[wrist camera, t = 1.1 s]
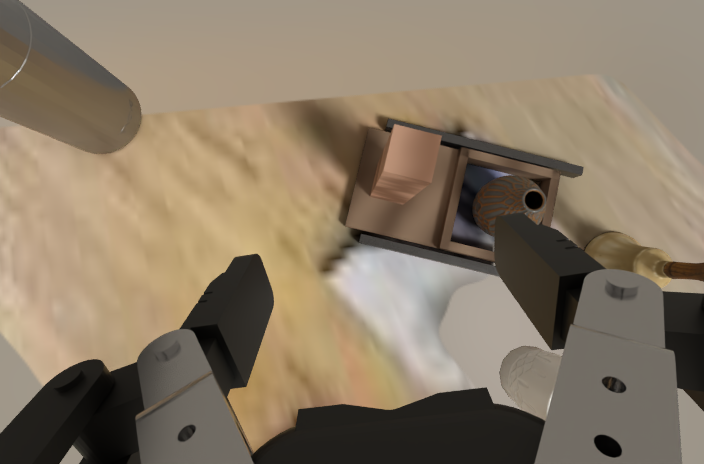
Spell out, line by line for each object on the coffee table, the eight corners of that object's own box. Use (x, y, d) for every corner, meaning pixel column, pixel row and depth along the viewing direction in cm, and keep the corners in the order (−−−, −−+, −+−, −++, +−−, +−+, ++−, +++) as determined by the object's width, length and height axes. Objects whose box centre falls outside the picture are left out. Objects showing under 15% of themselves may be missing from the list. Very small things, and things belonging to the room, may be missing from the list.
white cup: (560, 343, 40) (635, 373, 30) (557, 411, 39) (632, 465, 29) (495, 337, 39) (548, 366, 29) (492, 406, 39) (544, 458, 29)
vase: (463, 183, 41) (497, 164, 32) (518, 183, 41) (567, 164, 32) (465, 240, 40) (500, 236, 31) (521, 239, 40) (571, 235, 32)
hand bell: (646, 302, 40) (845, 334, 24) (579, 298, 40) (737, 328, 24) (646, 234, 41) (841, 222, 25) (580, 230, 41) (735, 215, 25)
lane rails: (358, 242, 40) (359, 242, 38) (386, 123, 41) (388, 118, 39) (551, 289, 40) (560, 290, 39) (574, 170, 41) (583, 167, 40)
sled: (345, 226, 39) (347, 213, 26) (368, 130, 40) (381, 72, 27) (531, 271, 40) (623, 279, 27) (550, 175, 41) (648, 139, 28)
